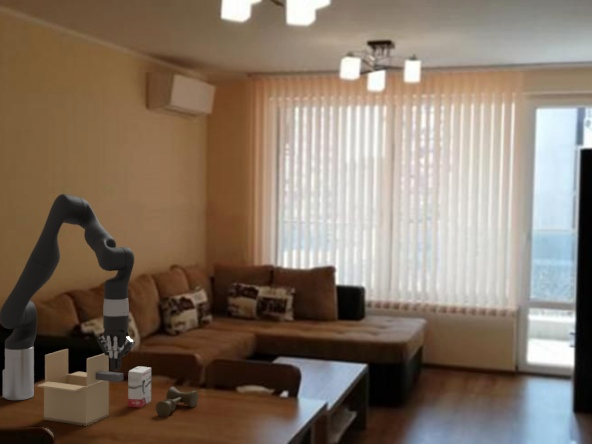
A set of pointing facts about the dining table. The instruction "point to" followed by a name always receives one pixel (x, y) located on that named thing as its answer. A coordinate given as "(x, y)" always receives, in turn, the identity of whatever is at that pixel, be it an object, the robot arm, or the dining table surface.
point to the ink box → (139, 386)
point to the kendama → (176, 401)
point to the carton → (72, 393)
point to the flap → (101, 370)
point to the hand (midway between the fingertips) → (115, 369)
